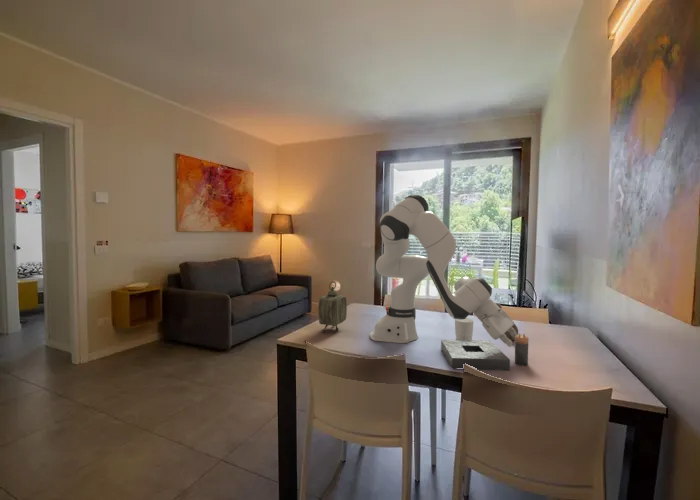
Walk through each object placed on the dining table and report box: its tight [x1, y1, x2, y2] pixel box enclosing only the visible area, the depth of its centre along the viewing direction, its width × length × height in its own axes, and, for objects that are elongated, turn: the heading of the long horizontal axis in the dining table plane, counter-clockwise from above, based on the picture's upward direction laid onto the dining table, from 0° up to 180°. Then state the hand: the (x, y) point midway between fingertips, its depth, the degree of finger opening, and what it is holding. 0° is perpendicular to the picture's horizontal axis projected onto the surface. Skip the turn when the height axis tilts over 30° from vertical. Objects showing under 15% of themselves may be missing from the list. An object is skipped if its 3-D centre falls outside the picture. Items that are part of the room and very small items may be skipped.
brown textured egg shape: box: [504, 319, 519, 342], centre depth 148 cm, size 7×7×9 cm
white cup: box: [454, 317, 474, 340], centre depth 145 cm, size 8×8×10 cm
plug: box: [514, 333, 529, 367], centre depth 121 cm, size 4×4×11 cm
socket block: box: [440, 339, 511, 372], centre depth 125 cm, size 20×20×4 cm
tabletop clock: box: [317, 280, 348, 333], centre depth 162 cm, size 14×9×25 cm, turn 155°
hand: (514, 341), depth 121 cm, fingers open, 8 cm apart
